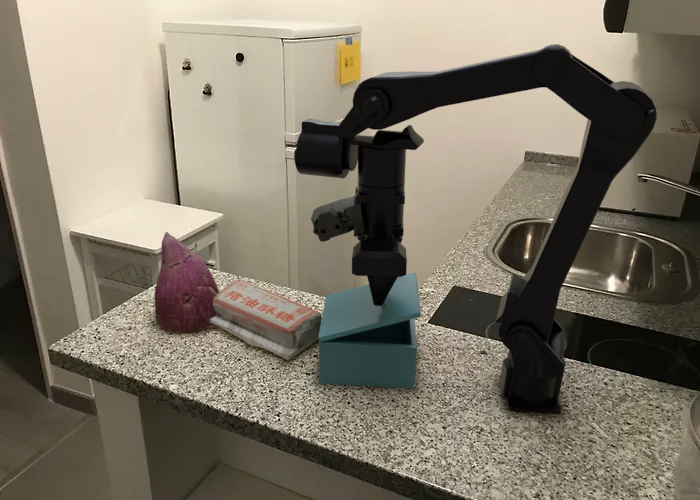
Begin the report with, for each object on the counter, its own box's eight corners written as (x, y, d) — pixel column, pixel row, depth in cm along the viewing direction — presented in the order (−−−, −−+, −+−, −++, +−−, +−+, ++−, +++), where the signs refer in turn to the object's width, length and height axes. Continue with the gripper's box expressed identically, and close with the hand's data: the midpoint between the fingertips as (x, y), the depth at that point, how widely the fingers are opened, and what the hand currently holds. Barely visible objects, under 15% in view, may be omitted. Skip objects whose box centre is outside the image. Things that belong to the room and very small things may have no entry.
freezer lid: (416, 276, 82) (407, 245, 80) (421, 317, 71) (410, 282, 70) (327, 299, 84) (316, 270, 82) (319, 342, 74) (307, 309, 72)
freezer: (410, 341, 86) (413, 304, 84) (413, 388, 76) (417, 348, 73) (326, 336, 87) (326, 299, 84) (318, 383, 76) (318, 342, 74)
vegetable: (150, 337, 91) (108, 251, 86) (200, 303, 98) (165, 222, 93) (189, 344, 84) (147, 251, 79) (240, 307, 91) (204, 220, 86)
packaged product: (332, 305, 85) (288, 334, 78) (331, 333, 87) (288, 364, 80) (242, 269, 94) (195, 292, 87) (243, 295, 96) (197, 319, 89)
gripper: (322, 160, 80) (324, 264, 86) (305, 205, 63) (309, 330, 69) (404, 162, 79) (400, 266, 85) (409, 207, 62) (403, 333, 68)
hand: (378, 295), depth 77 cm, fingers closed on freezer lid, 5 cm apart
